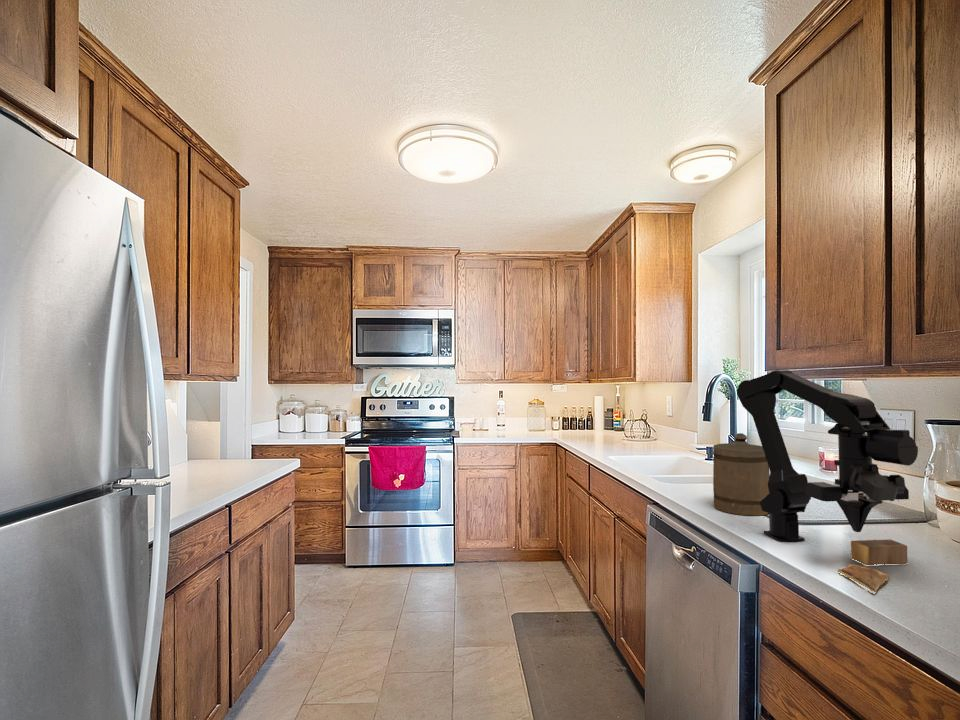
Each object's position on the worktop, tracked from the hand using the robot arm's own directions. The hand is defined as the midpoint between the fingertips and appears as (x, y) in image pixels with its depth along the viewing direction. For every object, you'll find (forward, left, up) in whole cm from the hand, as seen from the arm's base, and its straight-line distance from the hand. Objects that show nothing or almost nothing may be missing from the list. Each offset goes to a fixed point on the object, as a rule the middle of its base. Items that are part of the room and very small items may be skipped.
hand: (857, 531), depth 109 cm
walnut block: (0, 0, -5) cm, 5 cm away
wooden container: (-42, -1, -7) cm, 43 cm away
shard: (+9, -5, -7) cm, 13 cm away
